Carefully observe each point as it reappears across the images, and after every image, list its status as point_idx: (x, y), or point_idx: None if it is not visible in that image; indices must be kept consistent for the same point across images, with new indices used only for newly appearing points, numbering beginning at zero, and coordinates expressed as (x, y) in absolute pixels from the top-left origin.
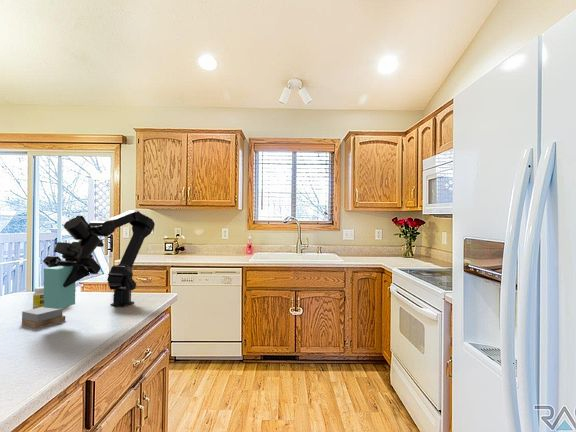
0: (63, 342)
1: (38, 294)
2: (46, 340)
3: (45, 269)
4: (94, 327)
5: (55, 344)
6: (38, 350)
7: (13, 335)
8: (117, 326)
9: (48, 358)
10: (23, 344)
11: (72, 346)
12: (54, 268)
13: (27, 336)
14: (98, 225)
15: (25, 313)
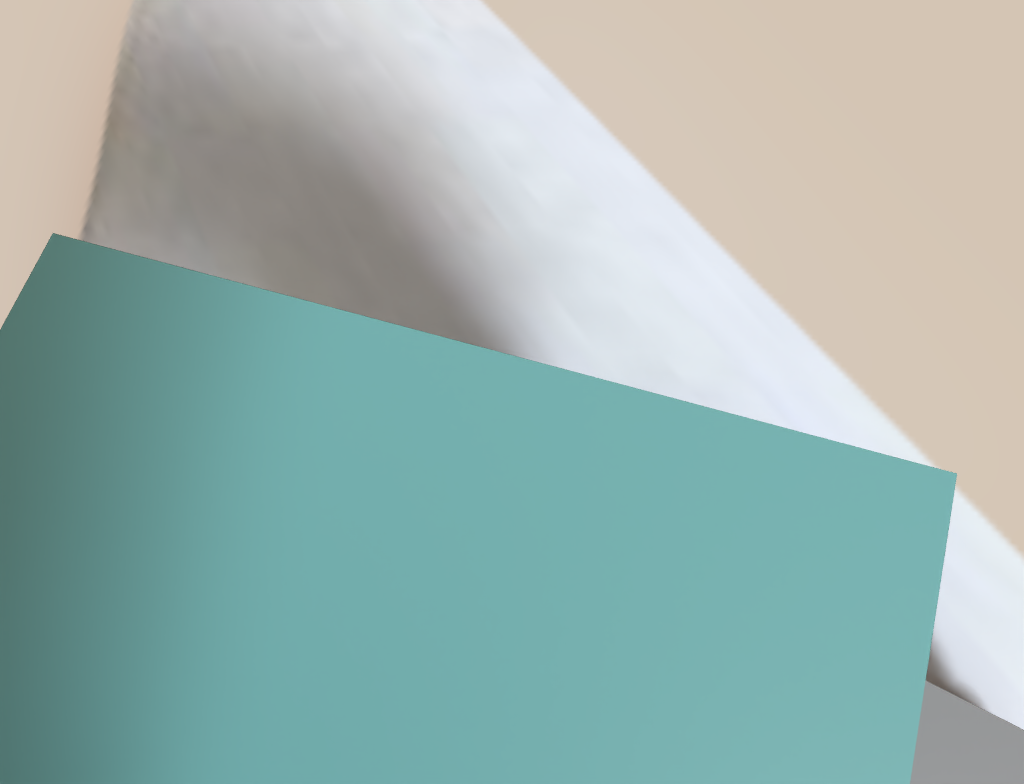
0: (320, 261)
1: None
2: (451, 292)
3: (806, 444)
4: None
5: (352, 228)
6: (401, 139)
7: (780, 388)
8: None
9: (288, 53)
10: (558, 219)
11: (236, 203)
12: (349, 441)
13: (647, 367)
14: None
15: (1000, 720)
